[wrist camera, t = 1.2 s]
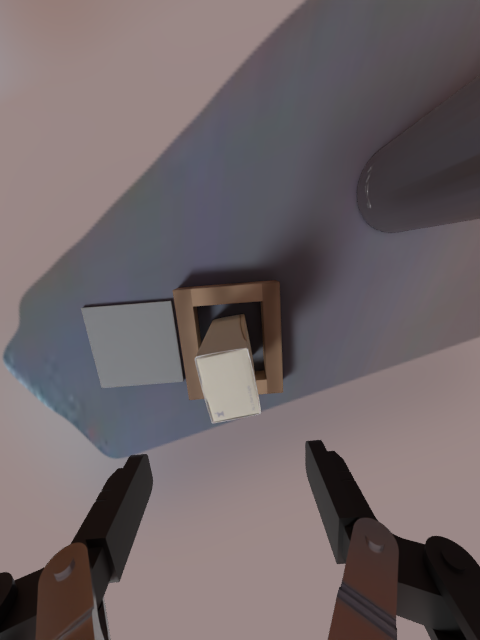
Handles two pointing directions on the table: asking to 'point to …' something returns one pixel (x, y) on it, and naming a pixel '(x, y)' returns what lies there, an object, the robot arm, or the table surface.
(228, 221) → the table surface
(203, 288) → the frame
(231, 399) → the skincare box
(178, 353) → the slate mat
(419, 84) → the table surface
